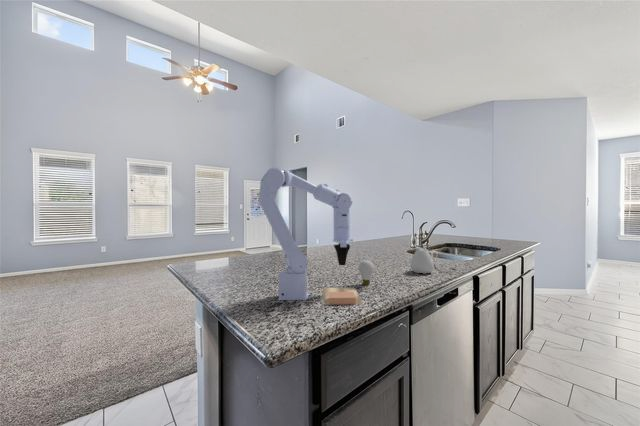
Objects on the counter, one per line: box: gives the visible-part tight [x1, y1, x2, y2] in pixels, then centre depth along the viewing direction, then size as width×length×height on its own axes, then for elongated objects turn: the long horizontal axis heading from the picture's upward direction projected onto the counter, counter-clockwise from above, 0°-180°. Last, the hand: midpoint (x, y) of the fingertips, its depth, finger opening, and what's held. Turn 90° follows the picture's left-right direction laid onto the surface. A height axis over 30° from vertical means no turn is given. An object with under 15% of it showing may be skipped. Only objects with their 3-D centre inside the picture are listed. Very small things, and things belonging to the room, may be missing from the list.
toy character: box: [410, 246, 435, 275], centre depth 126 cm, size 10×10×12 cm
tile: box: [329, 292, 357, 305], centre depth 85 cm, size 8×2×6 cm
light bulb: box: [358, 259, 375, 286], centre depth 104 cm, size 6×6×10 cm
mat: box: [322, 286, 363, 306], centre depth 91 cm, size 12×18×1 cm, turn 0°
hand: (342, 264), depth 96 cm, fingers closed
